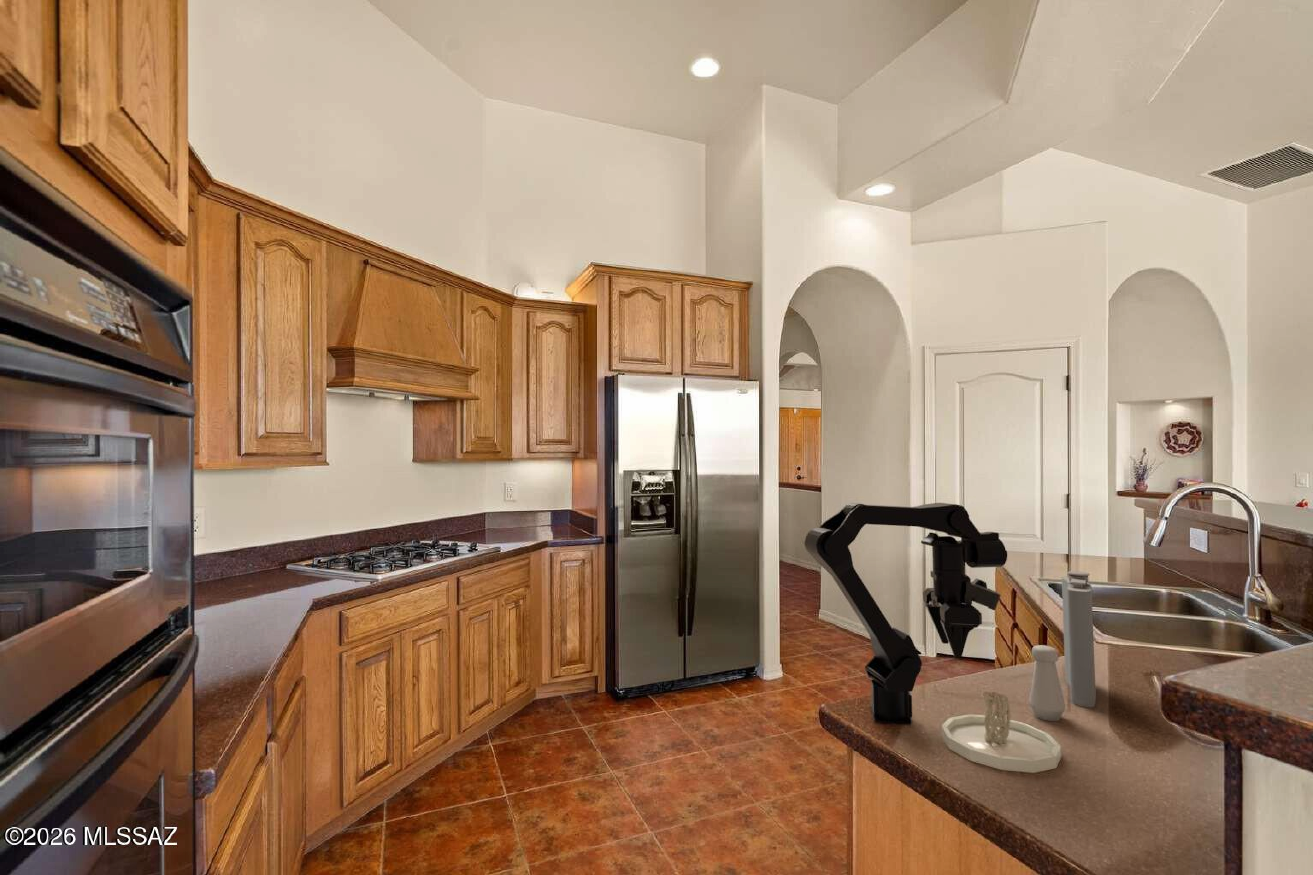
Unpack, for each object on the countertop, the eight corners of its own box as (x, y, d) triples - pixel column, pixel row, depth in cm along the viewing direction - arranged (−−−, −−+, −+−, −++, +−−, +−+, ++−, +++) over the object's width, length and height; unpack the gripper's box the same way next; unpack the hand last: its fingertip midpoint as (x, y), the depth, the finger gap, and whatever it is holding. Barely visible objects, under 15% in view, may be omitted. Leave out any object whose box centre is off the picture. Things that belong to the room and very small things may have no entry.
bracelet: (982, 747, 101) (981, 699, 101) (985, 729, 108) (984, 684, 108) (1010, 753, 99) (1008, 703, 99) (1011, 735, 106) (1009, 688, 106)
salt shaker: (1071, 724, 111) (1068, 652, 112) (1036, 721, 112) (1034, 650, 113) (1057, 711, 117) (1054, 643, 118) (1024, 709, 118) (1022, 641, 119)
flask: (1100, 709, 118) (1095, 579, 119) (1071, 704, 120) (1067, 577, 122) (1090, 681, 133) (1085, 566, 134) (1064, 677, 135) (1060, 564, 137)
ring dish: (958, 765, 96) (958, 754, 96) (933, 721, 113) (933, 711, 113) (1079, 776, 93) (1078, 764, 93) (1034, 729, 109) (1034, 718, 109)
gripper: (1012, 578, 107) (1015, 668, 106) (979, 561, 125) (981, 638, 124) (944, 576, 109) (946, 664, 108) (921, 560, 127) (923, 635, 127)
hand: (951, 650), depth 117 cm, fingers open, 9 cm apart
